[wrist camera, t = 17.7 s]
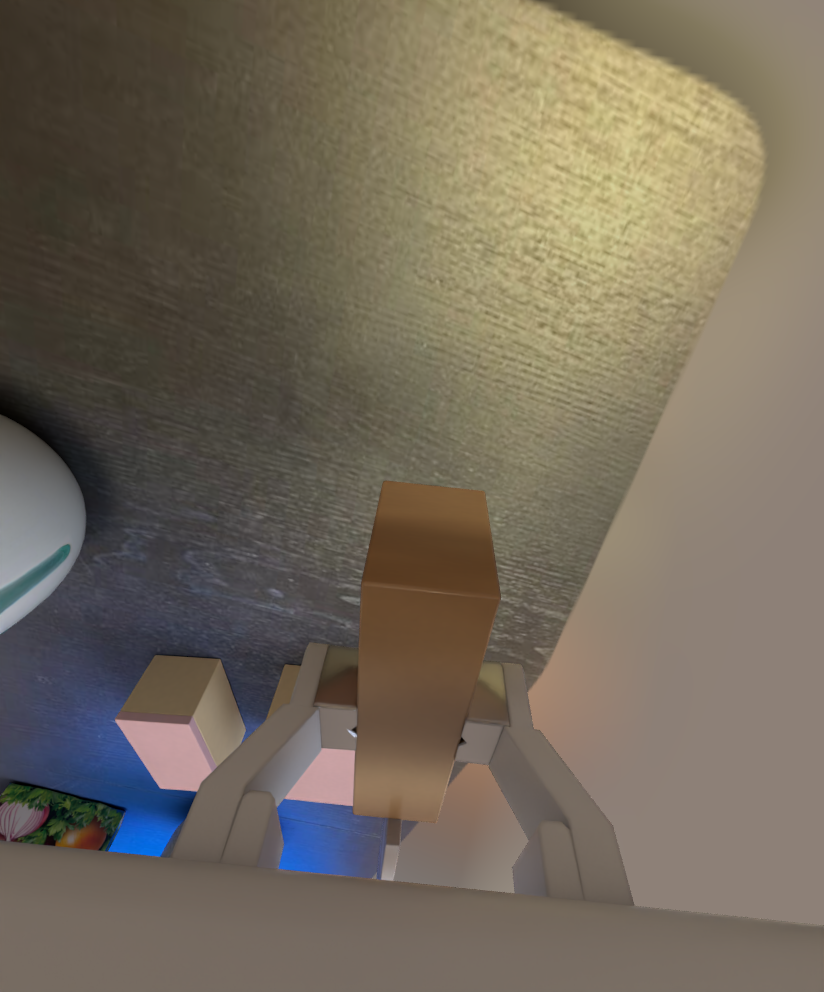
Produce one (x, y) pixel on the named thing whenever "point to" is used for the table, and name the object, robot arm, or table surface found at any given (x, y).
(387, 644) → the knife
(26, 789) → the blue food package
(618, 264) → the table surface
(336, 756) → the cake
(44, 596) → the vase
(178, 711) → the cake slice
